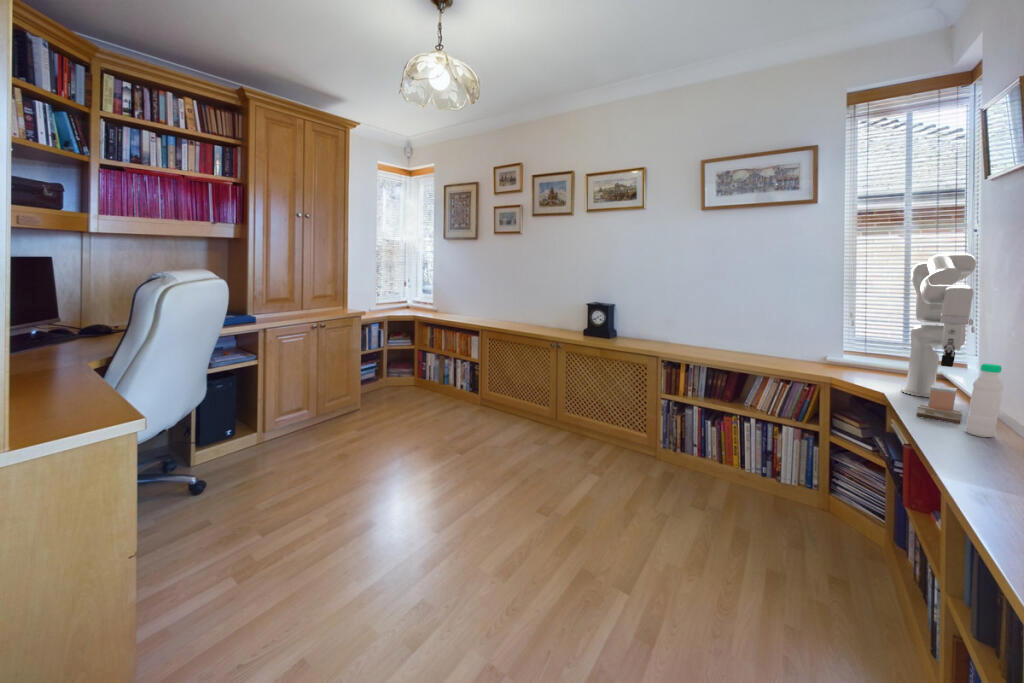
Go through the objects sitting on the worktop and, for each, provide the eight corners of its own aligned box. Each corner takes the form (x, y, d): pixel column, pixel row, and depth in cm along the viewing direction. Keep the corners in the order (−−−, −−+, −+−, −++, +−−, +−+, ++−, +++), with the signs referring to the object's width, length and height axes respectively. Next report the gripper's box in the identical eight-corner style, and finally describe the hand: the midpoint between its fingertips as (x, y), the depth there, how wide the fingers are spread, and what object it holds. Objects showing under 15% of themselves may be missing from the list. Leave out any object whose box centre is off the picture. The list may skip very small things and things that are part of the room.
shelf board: (919, 408, 181) (921, 399, 180) (961, 415, 172) (962, 405, 172) (916, 416, 171) (917, 407, 170) (959, 424, 163) (961, 414, 162)
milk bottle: (981, 438, 149) (994, 367, 145) (959, 431, 156) (970, 362, 152) (1000, 437, 150) (1013, 366, 146) (977, 430, 157) (989, 362, 153)
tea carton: (928, 408, 175) (931, 384, 174) (952, 412, 170) (956, 388, 169) (927, 412, 172) (930, 387, 170) (952, 416, 167) (956, 391, 165)
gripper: (968, 323, 156) (960, 369, 159) (969, 318, 168) (961, 361, 171) (939, 321, 162) (932, 366, 165) (941, 316, 173) (935, 358, 177)
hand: (947, 363), depth 168 cm, fingers open, 9 cm apart
